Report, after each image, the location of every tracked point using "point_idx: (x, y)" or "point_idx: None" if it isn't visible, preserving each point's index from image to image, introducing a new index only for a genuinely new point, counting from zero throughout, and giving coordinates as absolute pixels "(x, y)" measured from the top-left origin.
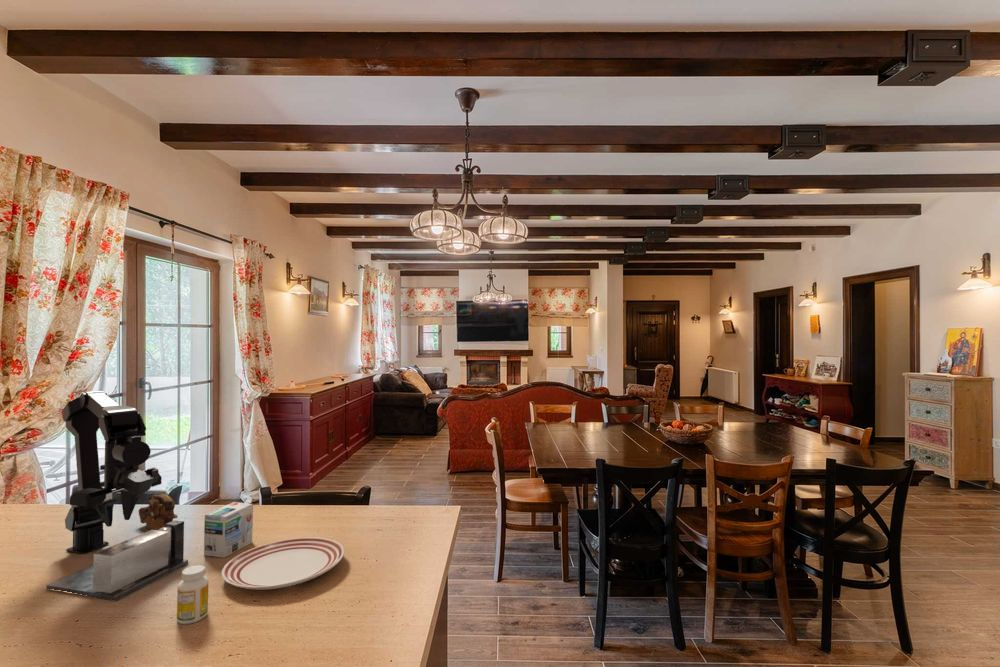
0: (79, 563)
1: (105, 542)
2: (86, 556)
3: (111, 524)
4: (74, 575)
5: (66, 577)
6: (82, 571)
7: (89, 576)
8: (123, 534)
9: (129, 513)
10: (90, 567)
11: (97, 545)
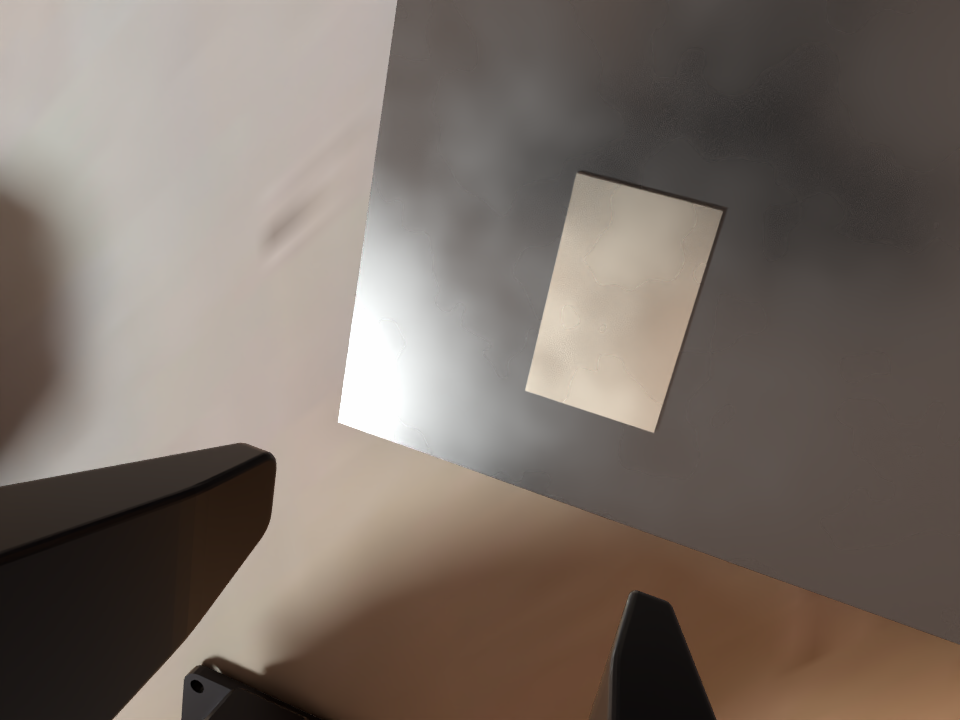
0: (532, 687)
1: (195, 693)
2: (405, 704)
3: (641, 604)
4: (897, 567)
5: (944, 615)
6: (802, 544)
7: (954, 394)
8: None
9: (174, 489)
10: (702, 524)
11: (272, 714)
